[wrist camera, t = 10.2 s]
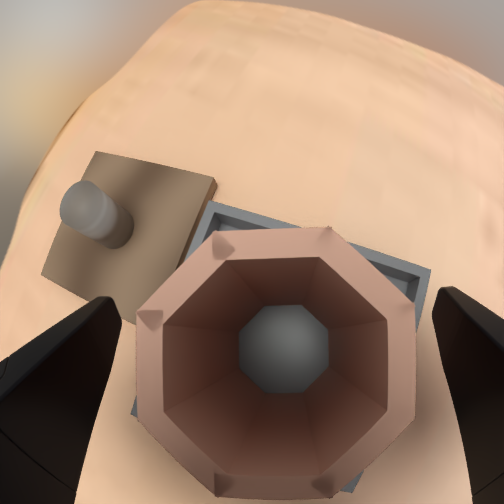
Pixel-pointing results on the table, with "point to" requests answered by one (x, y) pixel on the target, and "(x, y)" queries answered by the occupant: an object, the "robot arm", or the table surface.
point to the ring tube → (247, 392)
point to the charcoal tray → (295, 315)
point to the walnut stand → (126, 229)
